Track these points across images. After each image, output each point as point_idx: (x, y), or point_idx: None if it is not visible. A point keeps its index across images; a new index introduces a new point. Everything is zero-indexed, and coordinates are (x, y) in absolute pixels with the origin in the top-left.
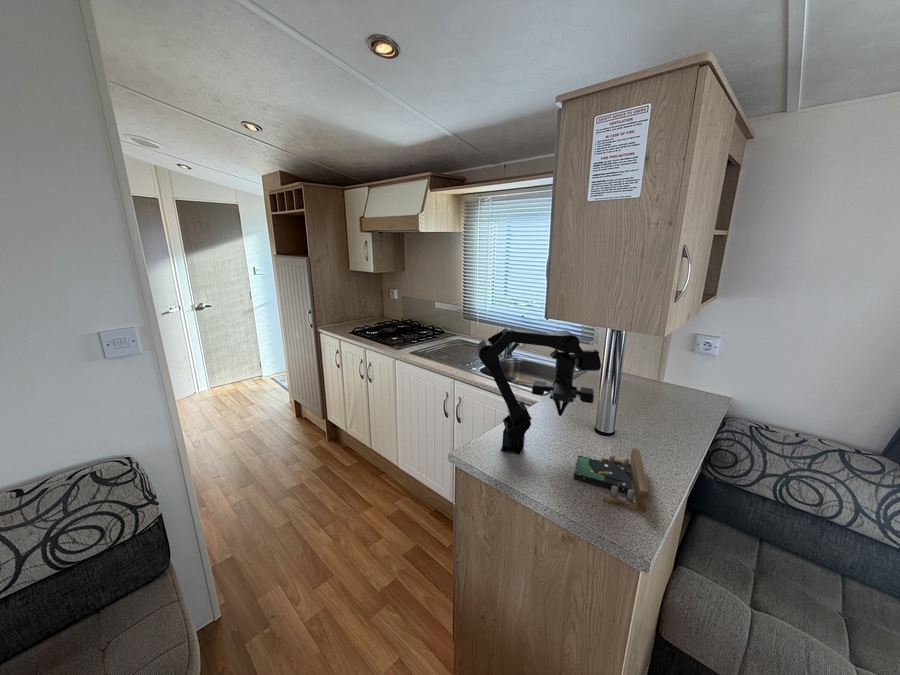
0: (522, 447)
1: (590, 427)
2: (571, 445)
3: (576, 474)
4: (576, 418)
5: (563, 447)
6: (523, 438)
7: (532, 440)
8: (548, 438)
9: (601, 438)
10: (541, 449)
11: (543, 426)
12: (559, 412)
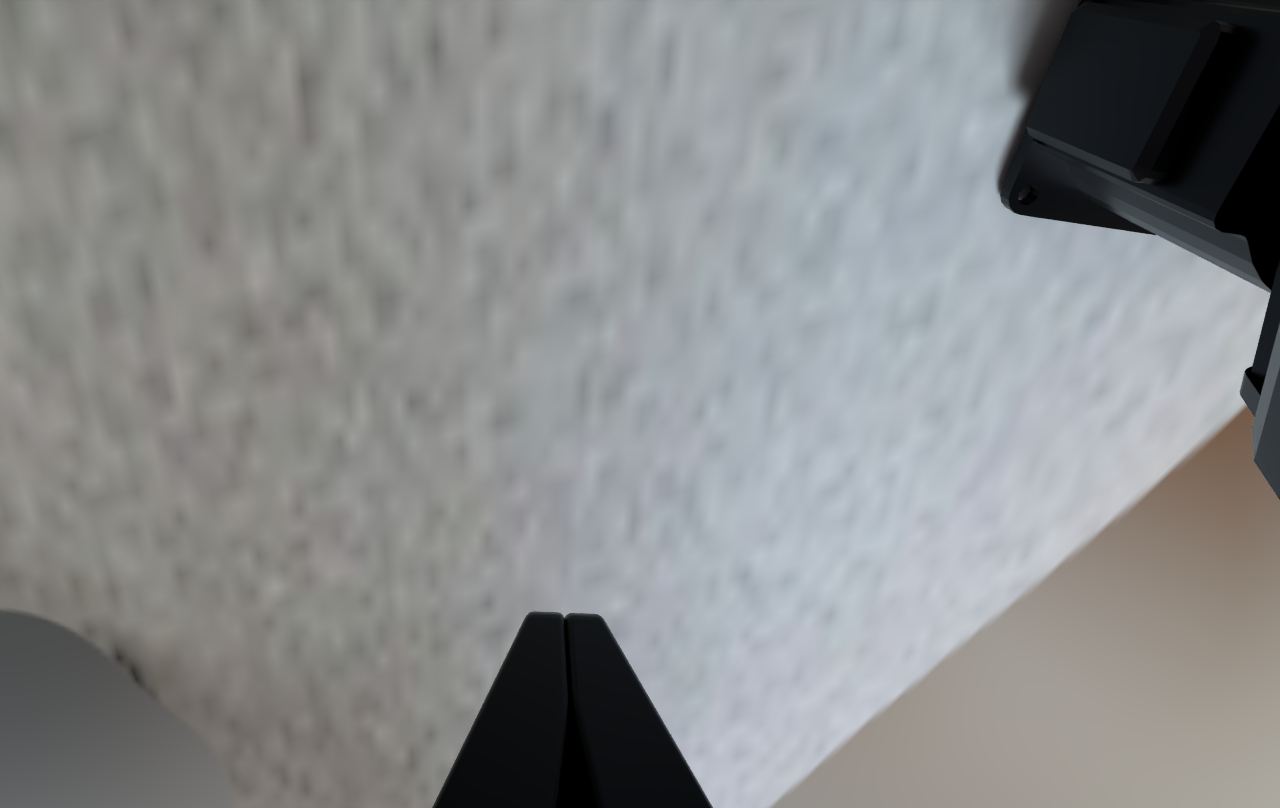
0: (1111, 8)
1: (197, 715)
2: (367, 345)
3: None
4: (356, 802)
5: (468, 274)
6: (1198, 65)
7: (852, 334)
8: (651, 422)
9: (33, 570)
10: (768, 150)
11: (687, 617)
12: (597, 694)
